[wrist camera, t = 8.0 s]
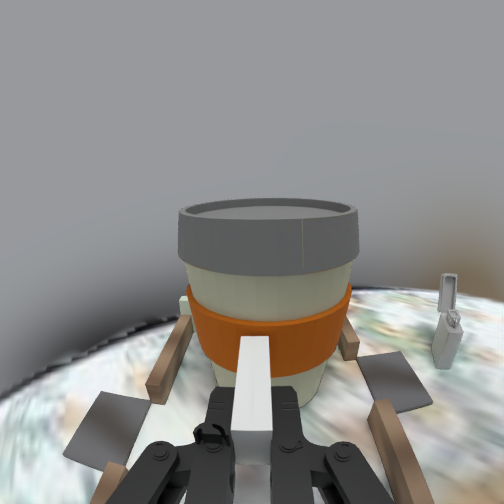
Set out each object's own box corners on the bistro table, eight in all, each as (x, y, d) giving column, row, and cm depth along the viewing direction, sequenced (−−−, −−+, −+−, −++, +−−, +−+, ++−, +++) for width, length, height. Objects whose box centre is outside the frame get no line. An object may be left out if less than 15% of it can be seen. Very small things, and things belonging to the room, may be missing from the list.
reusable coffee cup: (263, 328, 32) (260, 195, 27) (362, 369, 23) (385, 206, 19) (170, 378, 23) (142, 211, 19) (277, 460, 14) (287, 231, 10)
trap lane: (485, 504, 6) (503, 488, 5) (37, 506, 7) (18, 491, 6) (377, 320, 31) (379, 304, 31) (148, 324, 32) (145, 308, 32)
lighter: (450, 369, 20) (474, 296, 18) (436, 368, 21) (459, 295, 19) (439, 333, 27) (454, 270, 24) (427, 332, 27) (441, 269, 25)
